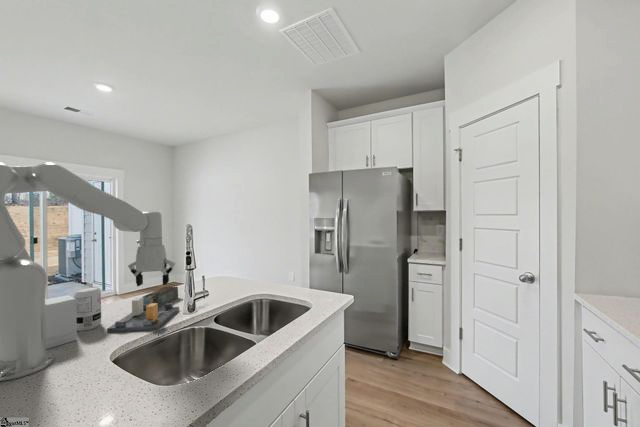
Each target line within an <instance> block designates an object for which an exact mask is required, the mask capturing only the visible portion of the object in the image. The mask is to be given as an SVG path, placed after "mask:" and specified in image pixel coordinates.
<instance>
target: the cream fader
mask: <svg viewBox="0 0 640 427" xmlns="http://www.w3.org/2000/svg"><path fill="white" fill-rule="evenodd" d="M131 310H132V311H131V313H132V316H137V315H140V314H141V313H143V296H141V297H140V296H138V297H136V298H135V297H134V299H132V300H131Z"/></svg>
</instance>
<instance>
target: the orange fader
mask: <svg viewBox="0 0 640 427" xmlns="http://www.w3.org/2000/svg"><path fill="white" fill-rule="evenodd" d="M146 319H153V322H155V321H156V320H157V319H158V303H151V304H149V305H148V306H146Z"/></svg>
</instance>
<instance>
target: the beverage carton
mask: <svg viewBox="0 0 640 427" xmlns="http://www.w3.org/2000/svg"><path fill="white" fill-rule="evenodd" d="M142 297H143V305H144V304H151V303H158V308H162V307H164V306H165V304H167V303H170V302H172V301H174V300H176V299H178V298H179V287H178V286H163V287H162V288H159V289H157V290H154V291H152V292H150V293H148V294H145V295H143V296H142Z"/></svg>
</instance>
